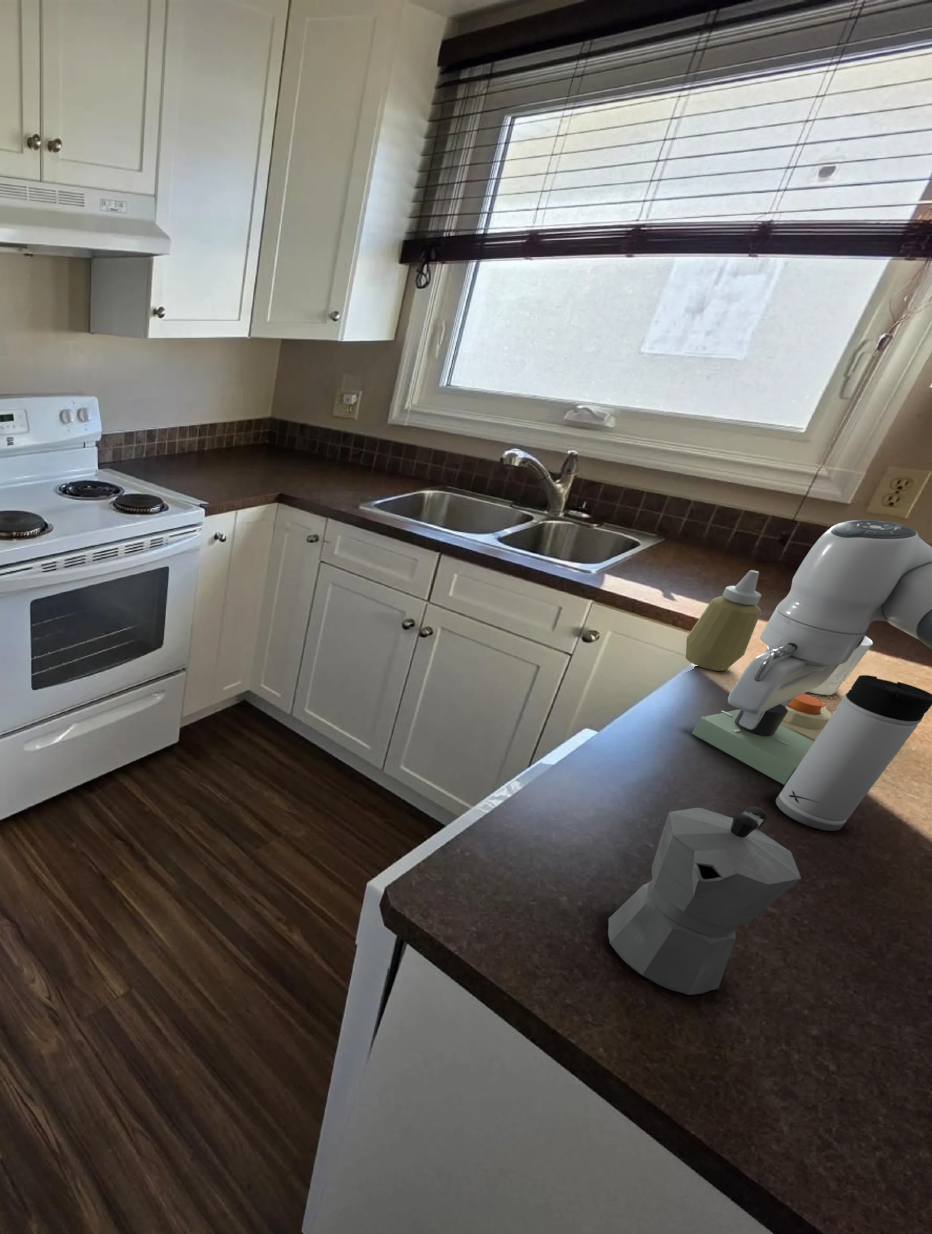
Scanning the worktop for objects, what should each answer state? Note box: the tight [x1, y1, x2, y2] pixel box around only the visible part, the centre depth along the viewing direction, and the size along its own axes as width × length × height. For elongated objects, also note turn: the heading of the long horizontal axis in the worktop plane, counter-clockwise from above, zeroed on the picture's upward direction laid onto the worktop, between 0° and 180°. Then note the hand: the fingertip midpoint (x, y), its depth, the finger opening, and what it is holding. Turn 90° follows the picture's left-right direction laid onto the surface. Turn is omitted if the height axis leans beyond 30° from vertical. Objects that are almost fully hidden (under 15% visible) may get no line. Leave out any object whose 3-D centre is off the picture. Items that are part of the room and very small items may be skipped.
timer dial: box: [735, 704, 788, 736], centre depth 97 cm, size 4×4×4 cm
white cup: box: [806, 635, 874, 696], centre depth 114 cm, size 8×8×10 cm
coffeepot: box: [607, 806, 802, 996], centre depth 64 cm, size 15×9×18 cm, turn 125°
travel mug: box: [775, 674, 932, 832], centre depth 82 cm, size 6×7×20 cm
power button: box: [788, 693, 825, 715], centre depth 102 cm, size 4×4×2 cm
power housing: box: [780, 705, 833, 742], centre depth 102 cm, size 11×9×4 cm
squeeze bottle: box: [685, 569, 762, 672], centre depth 117 cm, size 8×8×18 cm
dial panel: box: [691, 708, 814, 786], centre depth 97 cm, size 12×10×3 cm
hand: (757, 721), depth 98 cm, fingers closed on timer dial, 4 cm apart
